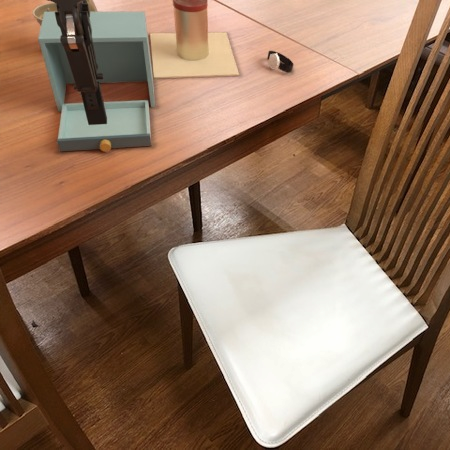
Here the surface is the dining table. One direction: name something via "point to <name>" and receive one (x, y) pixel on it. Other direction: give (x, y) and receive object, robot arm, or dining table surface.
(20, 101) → the dining table surface
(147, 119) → the drawer
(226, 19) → the dining table surface
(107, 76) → the cubby
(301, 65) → the dining table surface
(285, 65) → the watch
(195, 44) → the tea tin
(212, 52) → the mat
